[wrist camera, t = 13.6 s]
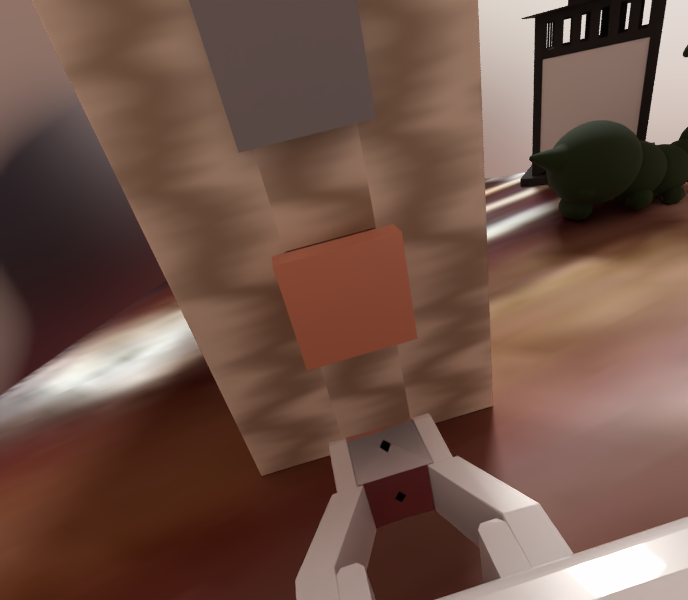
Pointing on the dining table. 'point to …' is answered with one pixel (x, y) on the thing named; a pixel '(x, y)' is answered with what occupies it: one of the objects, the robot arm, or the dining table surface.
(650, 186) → the toy figurine
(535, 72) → the lantern
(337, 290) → the terracotta plug
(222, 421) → the dining table surface
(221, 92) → the charcoal plug
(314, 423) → the block
